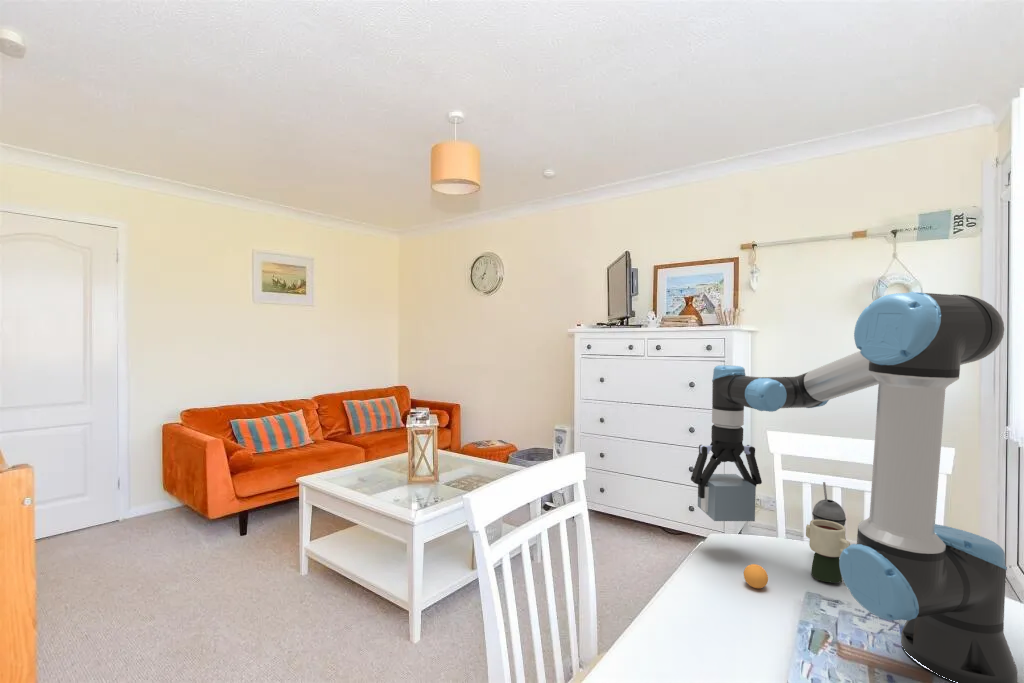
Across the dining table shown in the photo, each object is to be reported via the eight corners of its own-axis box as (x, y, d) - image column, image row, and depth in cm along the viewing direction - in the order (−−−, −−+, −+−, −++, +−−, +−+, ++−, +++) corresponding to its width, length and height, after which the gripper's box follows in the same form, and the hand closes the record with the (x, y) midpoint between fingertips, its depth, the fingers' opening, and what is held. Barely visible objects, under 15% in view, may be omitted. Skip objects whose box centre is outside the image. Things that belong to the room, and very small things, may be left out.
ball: (772, 590, 110) (773, 568, 110) (757, 594, 108) (757, 572, 108) (753, 579, 114) (754, 558, 114) (738, 584, 112) (738, 562, 112)
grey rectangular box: (734, 506, 131) (735, 473, 131) (754, 521, 121) (755, 486, 121) (697, 506, 131) (698, 473, 131) (714, 521, 121) (715, 486, 121)
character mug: (860, 588, 111) (861, 532, 111) (837, 593, 108) (838, 535, 108) (816, 566, 121) (817, 514, 121) (794, 570, 119) (795, 518, 119)
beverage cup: (844, 570, 119) (846, 489, 119) (809, 561, 124) (811, 483, 123) (846, 559, 125) (847, 482, 125) (812, 551, 129) (814, 477, 129)
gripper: (762, 422, 129) (760, 505, 130) (678, 422, 129) (676, 504, 129) (779, 428, 122) (776, 516, 122) (689, 427, 121) (687, 515, 122)
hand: (725, 510), depth 126 cm, fingers closed on grey rectangular box, 10 cm apart
